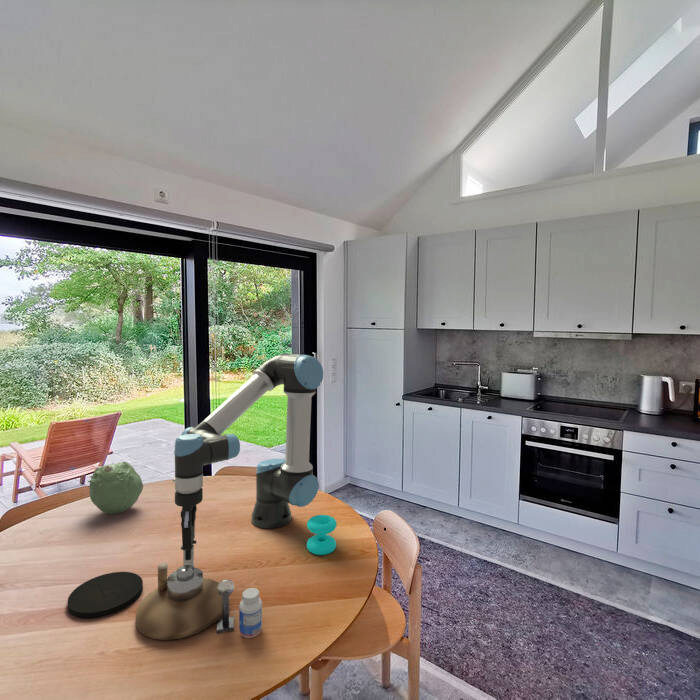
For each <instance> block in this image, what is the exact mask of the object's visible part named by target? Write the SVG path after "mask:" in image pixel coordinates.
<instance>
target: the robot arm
mask: <svg viewBox="0 0 700 700" xmlns="http://www.w3.org/2000/svg"><path fill="white" fill-rule="evenodd" d="M323 379H324V369H323V366H322V363H321V362H320V361H319V359H317V357H315V356H311V355H308V354H297V353H296V354H295V353H289V352H288V353H287V352H284V353H280V354H277V355H274V356H272V357H270V358H269V359H267V360H266V361H264V362H263V363H262V364H261V365H260V366H259V367H257V368H256V369H255V370H254V371H253V373H252V376H251V377H250V378H249V379H248V380H247V381H246V382H245V383H243V384H242V385H241V386H240V387H239V388H238V389H237V390H236V391H235V392H234V393H232V394H231V395H230V396H229V397H228V398H227V399H226V400H224V401H223V402H222V403H221V404H220V405H219V406H218V407H217V408H215V410H213V411H212V412H211V413H210V414H209V415H208V416H207V417H206V418H204V420H202V421H201V422H200V423H199V424H198V425H197V426H189V427H187V428H185V429H183V431H182V432H181V434H180V435H179V436H178V437H176V439H175V442H174V443H175V444H174V452H173V454H174V478H172V482H173V483H174V489H175V491H174V504H175V505H176V506H177V507H181V510H180V518H181V522H180V526H181V537H182V538H181V542H182V544H181V546H180V550H182V552H183V556H182V557H183V561H182V562H183V563H182V564H183V565H182V566H184V565H192V566H193V567H195V545H197V541H198V540H195V537H196V535H195V531H196V530H195V527H196V519H197V518H196V516H197V515H196V514H197V510H198V509H197V505H199V504H200V503H201V502H202V501H203V486H204V473H203V471H204V470H203V467H204V466H206V465H211V464H216V463H219V462H223V461H229V460H231V459H234V458H237V456H239V453H240V452H241V443H240V439H239V437H237V435H236V434H233V433H228V434H227V433H225V434H224V432H225V431H226V430H228V429H229V428H230V427H231V426H232V425H233V424H234V423H235V422H236V421H237V420H238V419H239V418H240V417H241V416H242V415H244V414H245V413H246V412H247V411H248V409H250V408H251V407H252V406H253V405H254V404H255V403H256V402H258V400H259V399H261V398H262V396H263V395H265V393H267V392H272V391H273V390H274V389H275V388H276V387H278V386H281V385H283V393H284V394H285V395H286V397H287V404H286V405H287V406H286V407H287V408H286V432H285V455H284V457H285V458H270V459H265V460H263V461H260V462H259V463H257V465H256V470H255V471H256V472H255V474H256V475H255V477H256V478H255V479H256V480H255V482H256V484H255V485H256V488H255V489H256V496H255V497H256V499H255V503H254V506H253V510H252V512H251V518H250V519H251V523H252V524H253V526H255V527H257V528H262V529H276V528H281V527H284V526H286V525H288V524H289V523H290V522H291V520H292V511H291V508H290V505H291V506H295V507H298V508H303V507H306V506H309V504H311V503H312V502H313V501H314V500H315V499H314V498H316V496H317V494H318V491H319V487H320V483H319V479H318V478H317V477H316V476H315V475H314V474H313V473H314V472H313V471H314V467H313V464H312V463H311V462H310V447H311V446H310V444H311V443H310V442H311V441H310V440H311V418H312V417H311V416H312V415H311V414H312V397H313V396H314V395H315V394H316V392H317V389H318V387H320V386H321V383H322V382H323Z"/></svg>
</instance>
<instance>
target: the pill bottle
mask: <svg viewBox="0 0 700 700" xmlns="http://www.w3.org/2000/svg"><path fill="white" fill-rule="evenodd" d="M241 595H242V596H241V600H240V603H239V607H238V608H239V609H238V611H239V615H238V616H239V619H238V623H239V624H238V625H239V626H238V627H239V634H240V636H241V637H242V638H243V637H244V638H247V639H250V638H254V637H255V638H256V636H258V635H259V634H260V633H261V632H262V629H263V618H262V617H263V611H262V610H263V601H262V599H261V598H260V591H259V589H257V588H256V587H255V588H254V587H249V588H246V589H245V590H244V591H243V592H242V594H241Z"/></svg>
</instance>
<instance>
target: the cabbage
mask: <svg viewBox="0 0 700 700" xmlns="http://www.w3.org/2000/svg"><path fill="white" fill-rule="evenodd" d="M89 478H90V480H89V481H87V482H88V483H89V486H88V490H89V499H90V500H91V502H92V503H93V505H94V506H95V507H96V508H97V509H98V510H100V511H101V512H103V513H106V514H108V515H118V514H120V513H123V512H125V511H127V510H129V509H131V508H132V507H133V506H134V505H135V504H136V503H137V501H138V499H139V497H140V496H141V494H142V491H143V489H144V484H143V481H142V477H141V476H140V475H139V473H138V472H137V471H136V469H135V468H134V467H133V465H131V464H130V463H129V462H127V461H121V462H117V463H110V464H106V465H102V466H97V467H95V469H94V473H92V475H91V476H89Z"/></svg>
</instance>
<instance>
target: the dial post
mask: <svg viewBox="0 0 700 700" xmlns="http://www.w3.org/2000/svg"><path fill="white" fill-rule="evenodd" d="M234 591H235V584H234V581H232V579H228V578H226V579H223V580H221V581H220V582H219V584H218V587H217V592H218V594H219V595H220V596H222V615H221V617H220V618H219V619H218V620H217V621H216V622H217V624H216V633H217V634H219V633H225V632H226V633H227V632H232V631H235V616H234V615H233V616H230V596H231V595H232V594H233V593H234Z"/></svg>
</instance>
